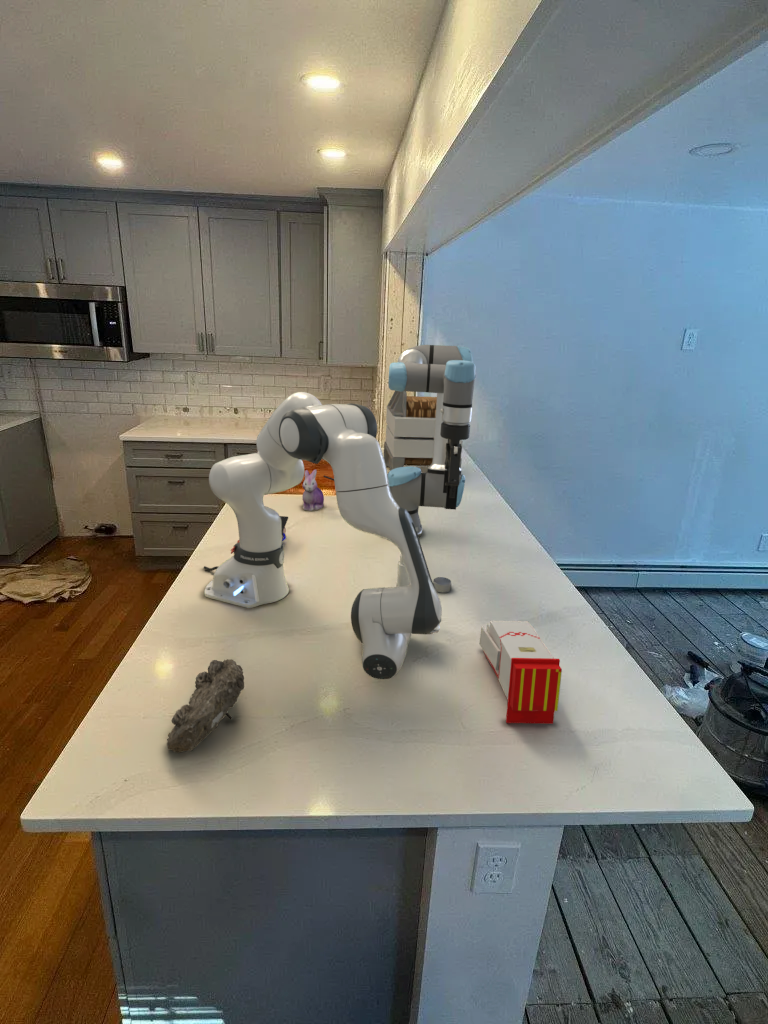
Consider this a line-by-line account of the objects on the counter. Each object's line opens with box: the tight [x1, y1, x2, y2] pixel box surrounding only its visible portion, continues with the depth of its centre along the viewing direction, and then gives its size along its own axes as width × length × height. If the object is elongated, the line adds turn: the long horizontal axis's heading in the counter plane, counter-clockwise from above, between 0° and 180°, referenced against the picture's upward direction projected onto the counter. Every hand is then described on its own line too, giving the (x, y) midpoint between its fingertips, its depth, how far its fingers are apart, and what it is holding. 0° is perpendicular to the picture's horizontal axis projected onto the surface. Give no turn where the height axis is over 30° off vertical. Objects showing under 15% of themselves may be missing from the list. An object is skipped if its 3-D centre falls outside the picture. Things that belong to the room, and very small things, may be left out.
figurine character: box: [279, 515, 289, 543], centre depth 186 cm, size 7×8×15 cm
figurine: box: [302, 469, 325, 511], centre depth 219 cm, size 9×10×15 cm
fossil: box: [166, 658, 245, 754], centre depth 106 cm, size 22×10×15 cm
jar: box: [396, 553, 410, 587], centre depth 146 cm, size 4×4×16 cm
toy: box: [478, 620, 563, 725], centre depth 121 cm, size 12×13×30 cm
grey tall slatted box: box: [383, 391, 464, 472], centre depth 268 cm, size 34×33×41 cm
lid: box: [432, 576, 452, 594], centre depth 162 cm, size 5×5×2 cm
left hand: (402, 599), depth 141 cm, fingers open, 8 cm apart
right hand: (449, 500), depth 153 cm, fingers open, 13 cm apart
